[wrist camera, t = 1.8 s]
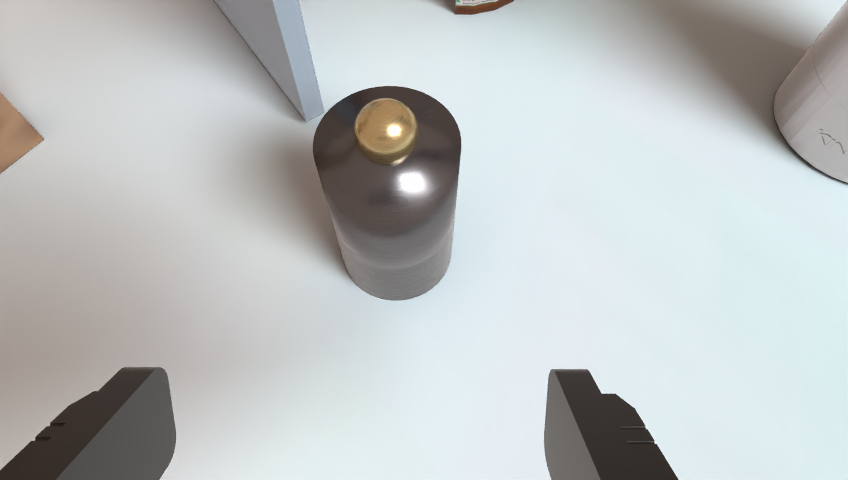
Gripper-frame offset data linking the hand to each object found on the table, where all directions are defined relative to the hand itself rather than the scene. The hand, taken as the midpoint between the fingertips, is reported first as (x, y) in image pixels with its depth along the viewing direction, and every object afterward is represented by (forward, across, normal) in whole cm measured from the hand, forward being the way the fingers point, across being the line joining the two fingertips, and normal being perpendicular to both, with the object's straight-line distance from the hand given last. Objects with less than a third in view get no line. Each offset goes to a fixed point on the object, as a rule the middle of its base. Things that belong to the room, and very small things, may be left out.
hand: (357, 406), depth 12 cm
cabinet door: (+27, +8, -8) cm, 30 cm away
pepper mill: (+18, 0, +2) cm, 18 cm away
